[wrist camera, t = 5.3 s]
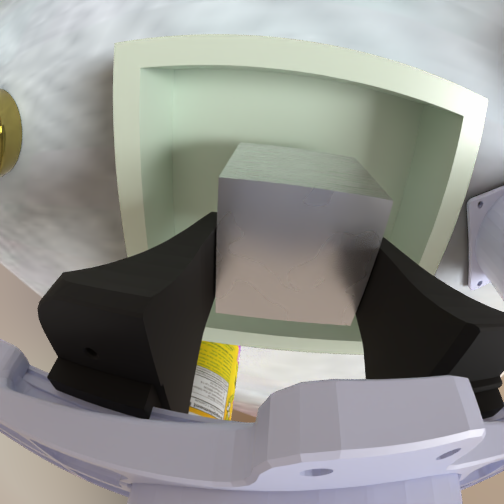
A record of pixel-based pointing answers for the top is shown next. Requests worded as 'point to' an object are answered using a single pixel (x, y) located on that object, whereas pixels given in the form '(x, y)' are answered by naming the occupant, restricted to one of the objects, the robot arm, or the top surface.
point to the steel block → (296, 234)
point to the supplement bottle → (215, 380)
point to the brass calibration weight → (9, 133)
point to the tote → (286, 145)
